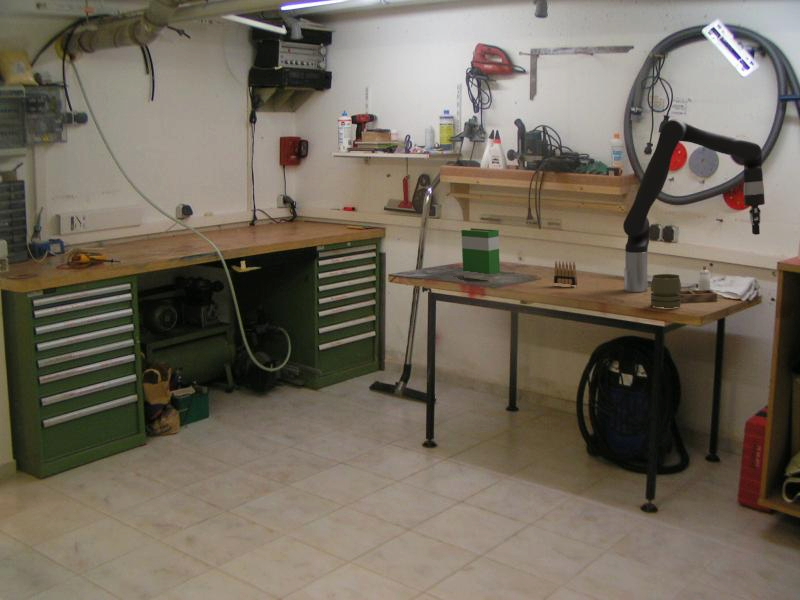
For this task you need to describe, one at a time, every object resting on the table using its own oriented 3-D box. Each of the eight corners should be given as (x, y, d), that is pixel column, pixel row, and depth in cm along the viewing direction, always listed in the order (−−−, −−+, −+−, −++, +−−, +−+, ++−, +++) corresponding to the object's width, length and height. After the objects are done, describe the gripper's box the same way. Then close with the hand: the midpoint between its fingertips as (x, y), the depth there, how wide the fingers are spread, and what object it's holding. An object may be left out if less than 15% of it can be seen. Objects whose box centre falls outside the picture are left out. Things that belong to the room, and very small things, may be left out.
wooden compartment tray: (673, 302, 347) (673, 295, 346) (668, 298, 356) (668, 291, 355) (717, 301, 345) (717, 293, 345) (710, 296, 354) (711, 289, 354)
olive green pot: (681, 274, 342) (680, 279, 332) (680, 303, 345) (680, 309, 334) (651, 273, 346) (650, 279, 336) (651, 303, 348) (650, 309, 338)
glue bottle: (699, 295, 359) (700, 267, 356) (697, 292, 363) (697, 265, 361) (711, 294, 358) (711, 266, 356) (708, 292, 363) (708, 265, 360)
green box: (463, 278, 428) (461, 230, 423) (473, 275, 432) (471, 228, 428) (489, 281, 415) (488, 232, 410) (500, 279, 419) (498, 230, 415)
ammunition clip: (553, 286, 394) (553, 260, 391) (555, 285, 395) (555, 260, 393) (575, 288, 387) (575, 261, 385) (577, 287, 389) (576, 261, 386)
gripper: (742, 194, 351) (744, 234, 352) (744, 194, 338) (746, 235, 339) (762, 193, 349) (764, 233, 350) (765, 192, 335) (767, 233, 336)
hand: (755, 234), depth 344 cm, fingers open, 8 cm apart
